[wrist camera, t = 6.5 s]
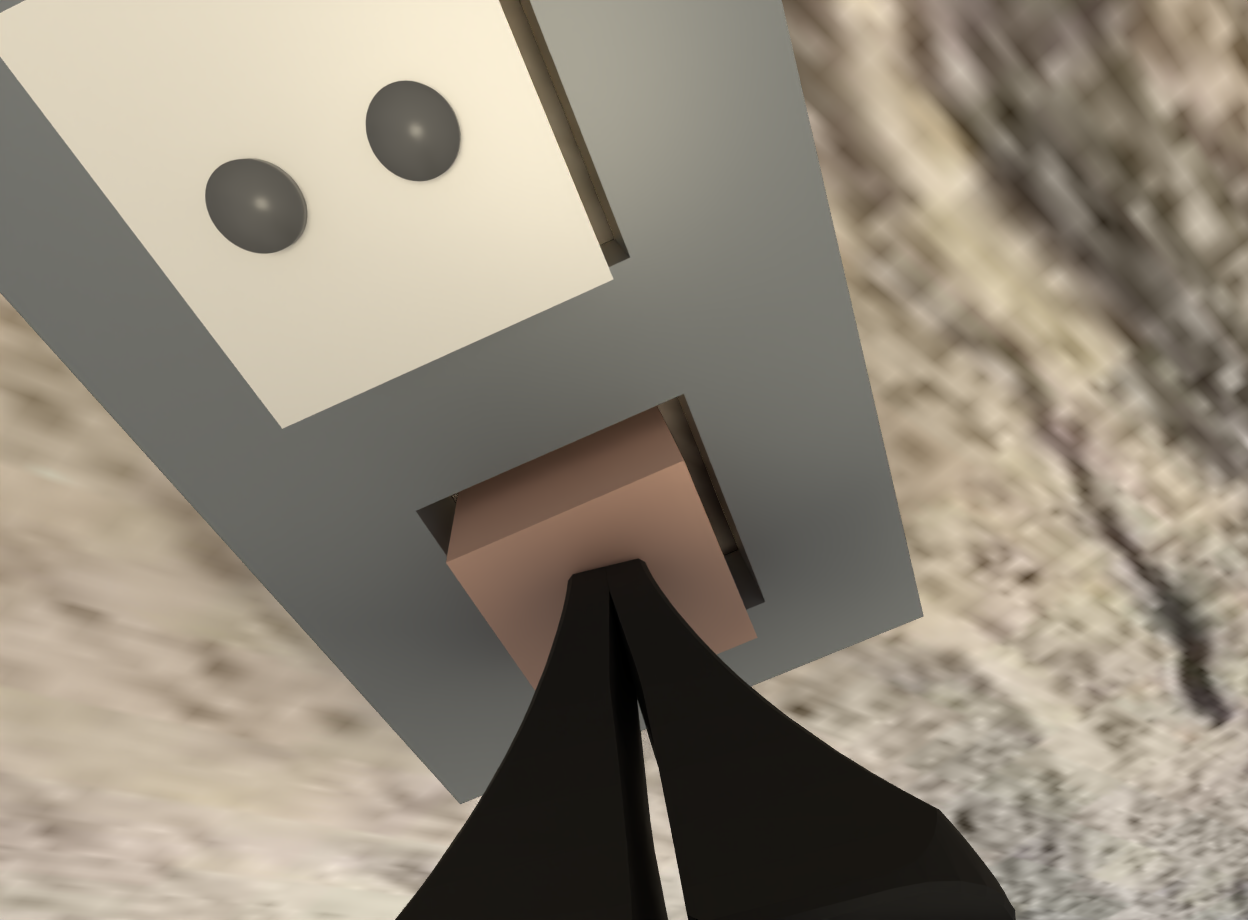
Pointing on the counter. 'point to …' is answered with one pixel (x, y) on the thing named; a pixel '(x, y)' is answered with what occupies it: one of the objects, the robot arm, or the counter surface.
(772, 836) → the robot arm
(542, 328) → the keypad
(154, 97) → the key two
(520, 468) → the key one
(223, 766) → the counter surface
